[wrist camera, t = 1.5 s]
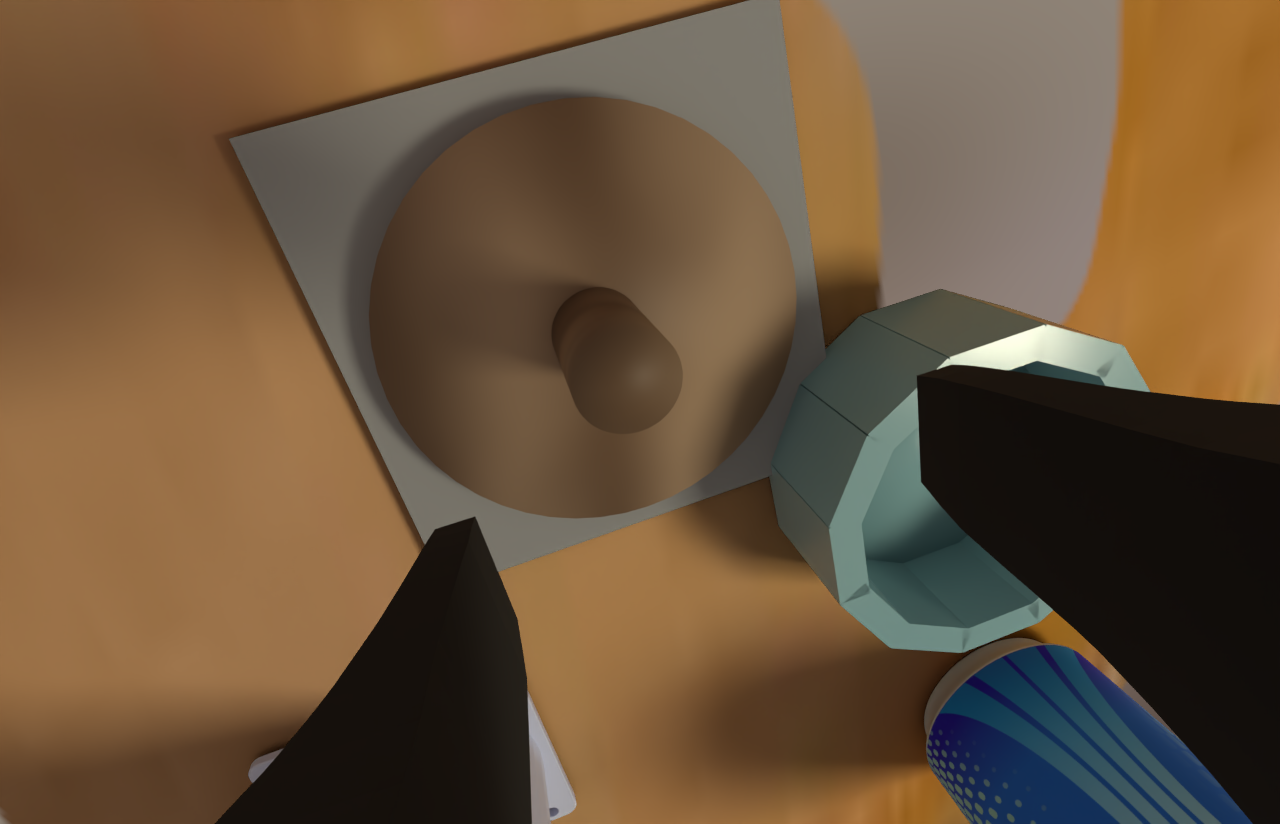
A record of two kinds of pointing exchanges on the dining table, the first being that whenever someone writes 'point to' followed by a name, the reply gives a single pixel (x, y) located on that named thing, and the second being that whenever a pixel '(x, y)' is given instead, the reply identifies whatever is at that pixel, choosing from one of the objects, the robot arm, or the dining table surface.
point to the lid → (582, 307)
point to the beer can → (1060, 745)
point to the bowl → (912, 468)
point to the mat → (446, 112)
